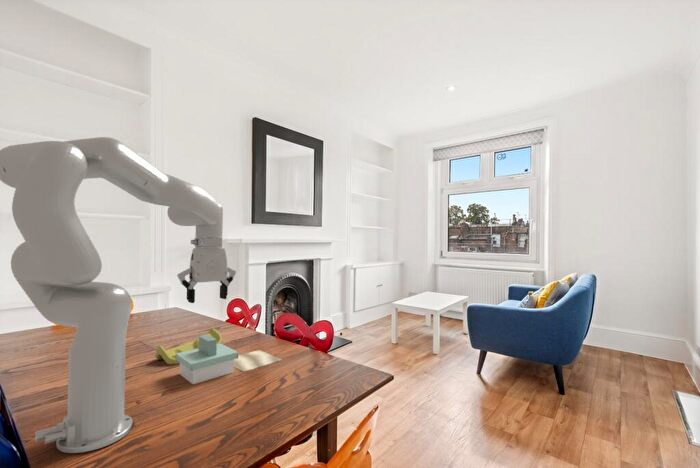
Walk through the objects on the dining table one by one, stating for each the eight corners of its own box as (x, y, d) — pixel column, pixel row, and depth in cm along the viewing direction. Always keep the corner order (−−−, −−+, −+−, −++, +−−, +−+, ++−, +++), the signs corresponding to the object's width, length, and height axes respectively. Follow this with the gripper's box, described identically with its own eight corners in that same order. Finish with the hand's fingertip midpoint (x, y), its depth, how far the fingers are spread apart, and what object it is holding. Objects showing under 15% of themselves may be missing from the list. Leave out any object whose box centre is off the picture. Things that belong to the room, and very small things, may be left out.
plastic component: (172, 361, 106) (157, 342, 111) (168, 379, 108) (153, 360, 113) (227, 341, 122) (212, 325, 127) (222, 357, 124) (208, 341, 129)
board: (243, 374, 102) (243, 371, 102) (222, 362, 111) (222, 359, 111) (282, 362, 112) (282, 359, 112) (259, 352, 121) (259, 349, 121)
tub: (192, 387, 93) (193, 365, 93) (179, 376, 100) (179, 356, 100) (233, 374, 102) (234, 354, 102) (218, 365, 109) (219, 347, 109)
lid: (191, 370, 92) (191, 347, 92) (175, 359, 100) (175, 338, 100) (238, 358, 102) (238, 337, 102) (220, 349, 110) (220, 329, 110)
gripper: (183, 243, 93) (182, 306, 93) (241, 244, 106) (240, 298, 105) (173, 243, 98) (172, 302, 98) (229, 243, 111) (228, 295, 111)
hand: (207, 300), depth 102 cm, fingers open, 9 cm apart
